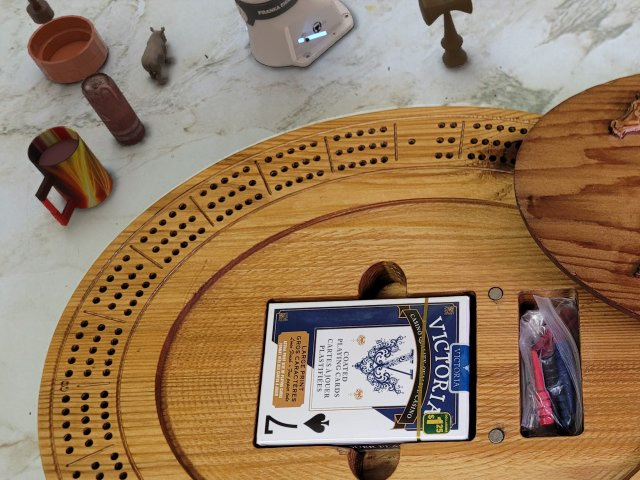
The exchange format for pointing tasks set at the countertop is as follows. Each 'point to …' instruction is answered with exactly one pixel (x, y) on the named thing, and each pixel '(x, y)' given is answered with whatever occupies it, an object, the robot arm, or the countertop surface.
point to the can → (113, 108)
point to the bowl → (67, 49)
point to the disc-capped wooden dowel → (40, 11)
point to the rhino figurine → (155, 54)
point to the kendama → (447, 27)
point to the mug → (68, 171)
